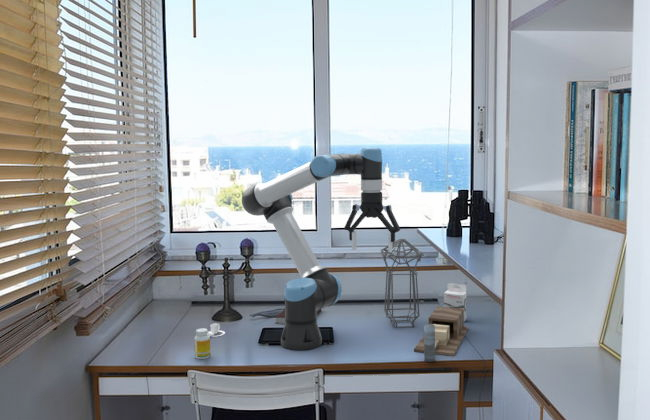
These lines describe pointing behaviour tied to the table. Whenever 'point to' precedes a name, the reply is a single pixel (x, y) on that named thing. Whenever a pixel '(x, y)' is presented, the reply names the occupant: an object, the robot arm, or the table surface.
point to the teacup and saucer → (215, 330)
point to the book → (281, 317)
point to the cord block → (434, 339)
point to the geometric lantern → (401, 274)
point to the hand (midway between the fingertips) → (372, 250)
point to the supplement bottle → (202, 344)
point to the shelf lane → (456, 329)
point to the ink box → (456, 297)
